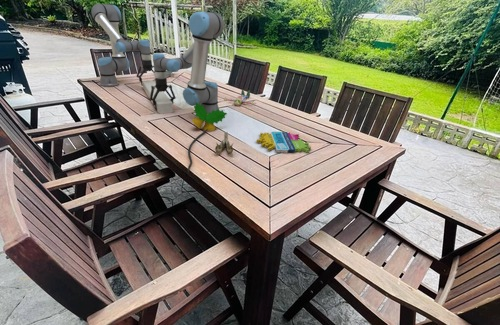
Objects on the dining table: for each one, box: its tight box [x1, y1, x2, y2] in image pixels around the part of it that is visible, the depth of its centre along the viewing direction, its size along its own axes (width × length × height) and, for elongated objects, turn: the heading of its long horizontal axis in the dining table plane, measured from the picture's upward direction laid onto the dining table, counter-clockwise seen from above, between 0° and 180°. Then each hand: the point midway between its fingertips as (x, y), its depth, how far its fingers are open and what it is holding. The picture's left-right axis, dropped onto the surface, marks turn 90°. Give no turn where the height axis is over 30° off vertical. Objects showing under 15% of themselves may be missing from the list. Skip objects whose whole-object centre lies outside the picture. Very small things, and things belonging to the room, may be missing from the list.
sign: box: [256, 131, 312, 154], centre depth 152 cm, size 26×2×30 cm
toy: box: [223, 89, 257, 106], centre depth 219 cm, size 28×7×30 cm
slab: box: [142, 79, 174, 114], centre depth 211 cm, size 72×10×7 cm, turn 27°
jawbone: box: [214, 131, 234, 156], centre depth 136 cm, size 9×15×10 cm
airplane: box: [153, 70, 176, 81], centre depth 281 cm, size 38×31×10 cm
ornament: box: [191, 102, 228, 132], centre depth 162 cm, size 21×8×15 cm, turn 105°
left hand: (150, 85), depth 232 cm, fingers open, 13 cm apart
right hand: (163, 108), depth 190 cm, fingers closed on slab, 10 cm apart
